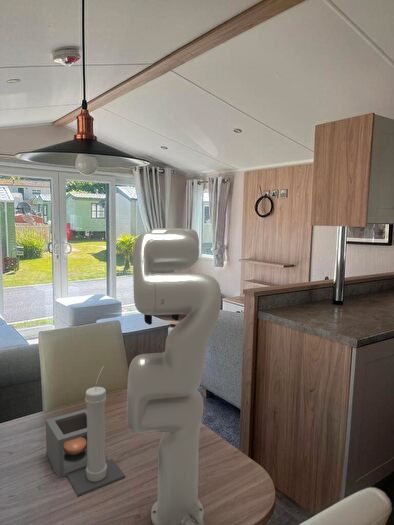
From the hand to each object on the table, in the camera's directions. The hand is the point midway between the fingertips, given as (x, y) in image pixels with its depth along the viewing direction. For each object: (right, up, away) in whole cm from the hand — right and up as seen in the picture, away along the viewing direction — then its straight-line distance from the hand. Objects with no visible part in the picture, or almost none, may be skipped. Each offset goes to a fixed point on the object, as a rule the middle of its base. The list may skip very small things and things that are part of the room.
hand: (161, 321), depth 122 cm
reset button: (-25, -37, -9) cm, 46 cm away
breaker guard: (-25, -39, -9) cm, 47 cm away
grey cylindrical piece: (-16, -40, -17) cm, 46 cm away
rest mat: (-16, -40, -17) cm, 46 cm away
